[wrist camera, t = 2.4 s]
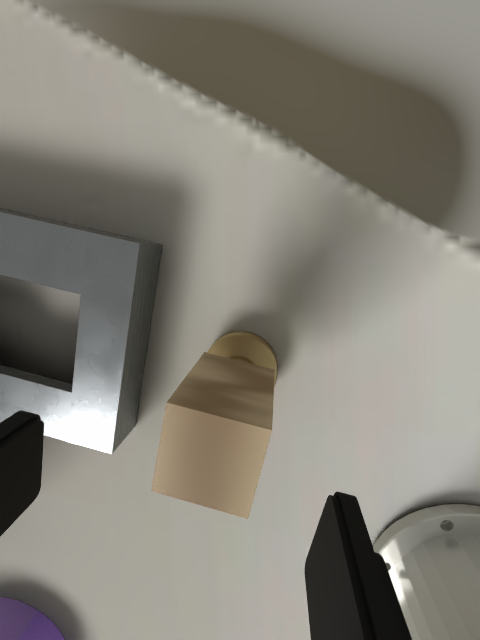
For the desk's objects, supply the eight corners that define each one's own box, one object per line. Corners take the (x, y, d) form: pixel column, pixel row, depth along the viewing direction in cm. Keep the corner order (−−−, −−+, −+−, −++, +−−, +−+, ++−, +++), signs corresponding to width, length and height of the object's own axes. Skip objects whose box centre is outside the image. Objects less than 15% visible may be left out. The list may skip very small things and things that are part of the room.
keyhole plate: (162, 244, 21) (139, 243, 17) (135, 425, 24) (111, 454, 21) (-77, 191, 22) (-141, 180, 19) (-72, 369, 26) (-126, 387, 22)
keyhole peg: (284, 340, 21) (289, 421, 11) (267, 405, 22) (257, 532, 12) (214, 323, 22) (155, 387, 11) (201, 388, 23) (137, 497, 13)
